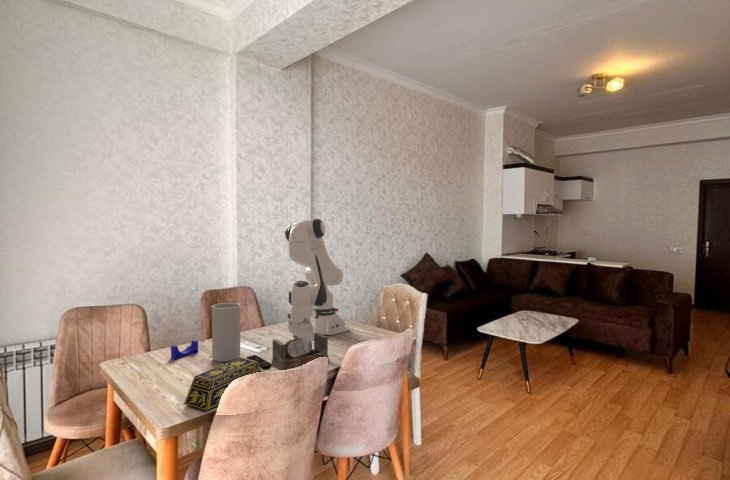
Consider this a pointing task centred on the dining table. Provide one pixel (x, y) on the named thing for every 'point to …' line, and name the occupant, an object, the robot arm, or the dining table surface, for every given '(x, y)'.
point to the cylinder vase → (225, 332)
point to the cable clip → (188, 351)
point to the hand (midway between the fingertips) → (300, 346)
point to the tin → (296, 348)
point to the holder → (284, 363)
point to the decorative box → (217, 382)
